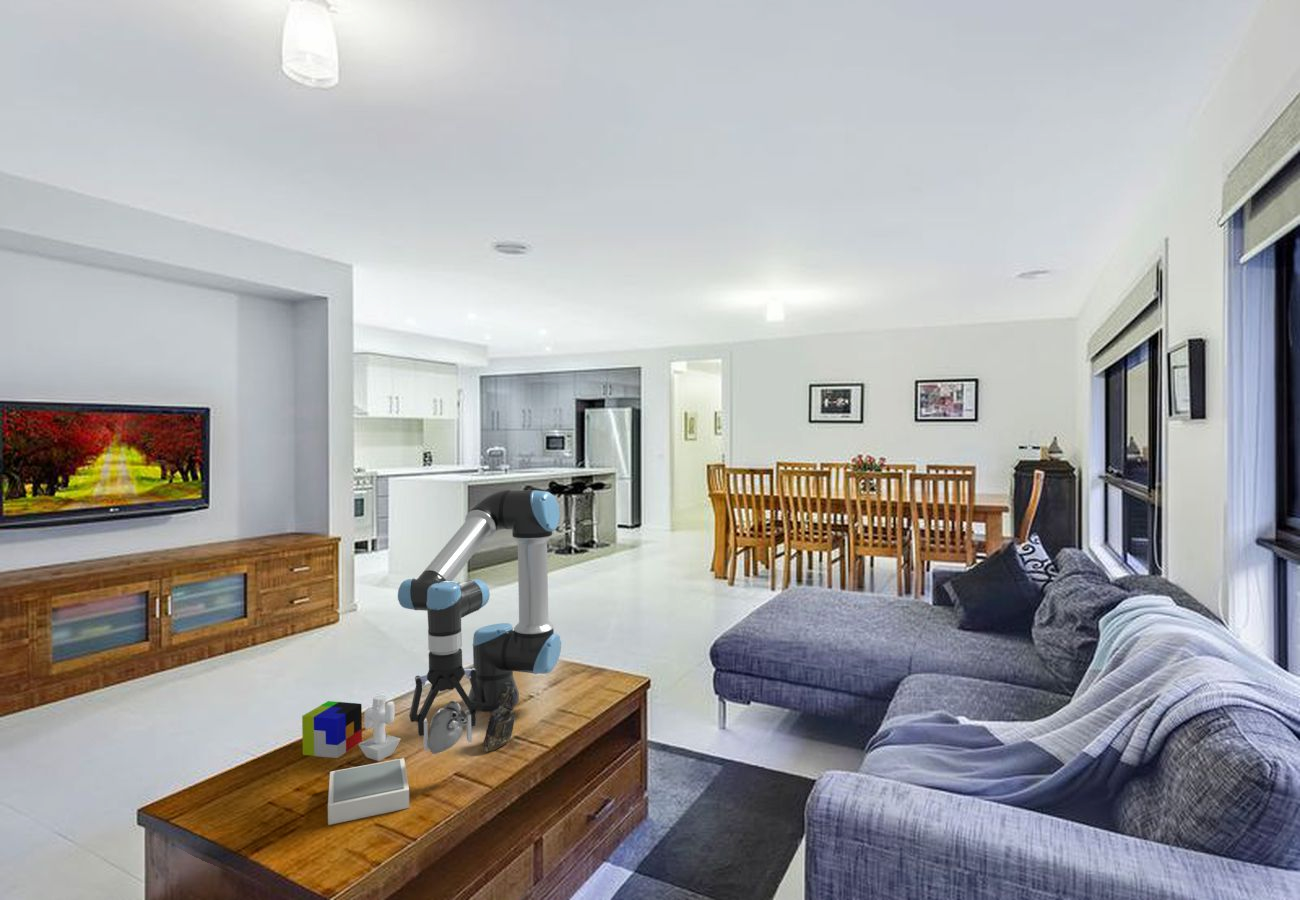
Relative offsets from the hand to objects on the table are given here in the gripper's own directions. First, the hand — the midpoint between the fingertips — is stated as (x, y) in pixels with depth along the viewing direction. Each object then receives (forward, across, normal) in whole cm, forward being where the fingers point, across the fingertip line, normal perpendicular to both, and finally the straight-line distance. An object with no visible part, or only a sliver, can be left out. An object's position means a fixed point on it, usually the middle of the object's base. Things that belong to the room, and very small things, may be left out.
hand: (447, 743), depth 160 cm
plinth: (+8, +18, +2) cm, 19 cm away
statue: (+9, -14, -13) cm, 22 cm away
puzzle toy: (+9, +26, -29) cm, 40 cm away
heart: (+1, +1, 0) cm, 1 cm away
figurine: (+9, +14, -19) cm, 26 cm away
